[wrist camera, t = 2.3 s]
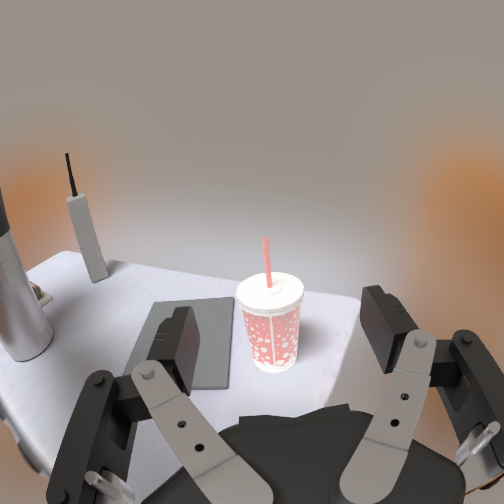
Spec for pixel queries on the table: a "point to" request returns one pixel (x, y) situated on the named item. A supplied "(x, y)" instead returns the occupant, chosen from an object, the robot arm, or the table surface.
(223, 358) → the mat
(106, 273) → the vintage mobile phone
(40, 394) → the table surface
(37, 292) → the packaged product
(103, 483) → the robot arm
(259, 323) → the beverage cup
